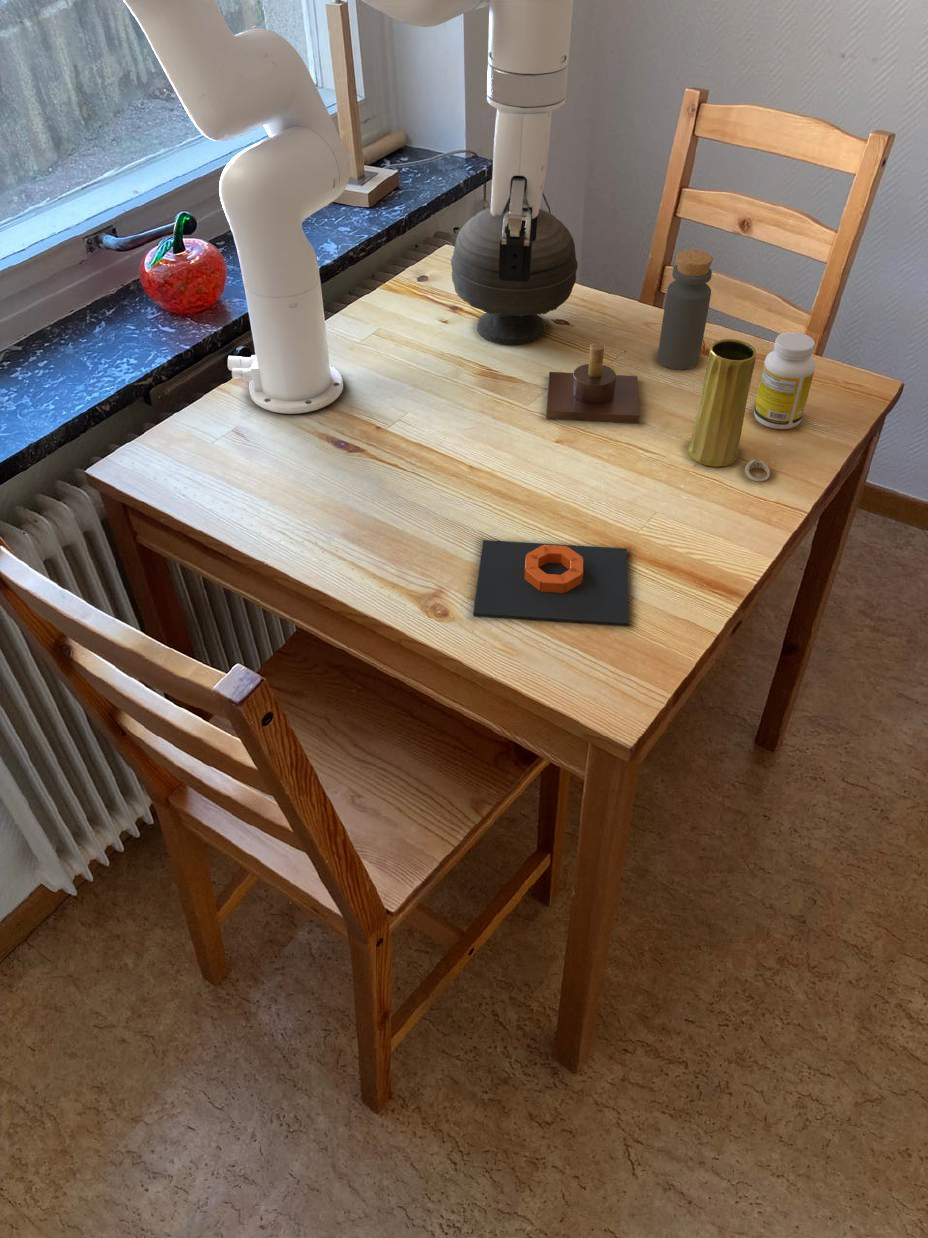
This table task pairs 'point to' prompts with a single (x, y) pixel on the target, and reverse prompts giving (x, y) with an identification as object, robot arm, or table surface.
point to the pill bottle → (785, 381)
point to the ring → (758, 465)
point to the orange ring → (551, 580)
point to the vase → (722, 403)
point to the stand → (593, 393)
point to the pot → (513, 300)
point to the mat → (585, 603)
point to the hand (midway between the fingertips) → (517, 258)
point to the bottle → (686, 311)
